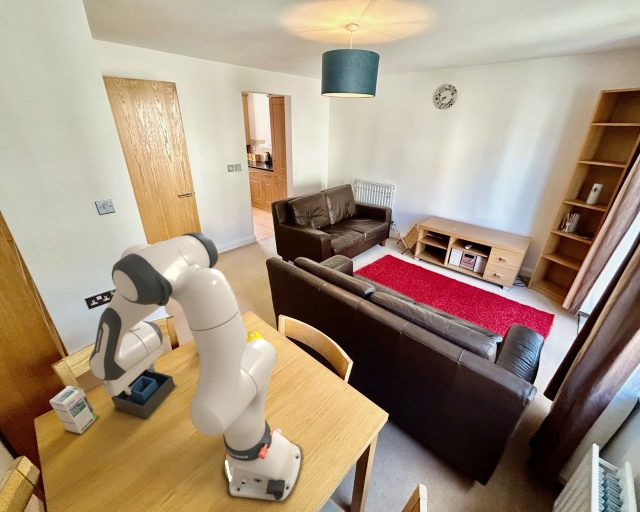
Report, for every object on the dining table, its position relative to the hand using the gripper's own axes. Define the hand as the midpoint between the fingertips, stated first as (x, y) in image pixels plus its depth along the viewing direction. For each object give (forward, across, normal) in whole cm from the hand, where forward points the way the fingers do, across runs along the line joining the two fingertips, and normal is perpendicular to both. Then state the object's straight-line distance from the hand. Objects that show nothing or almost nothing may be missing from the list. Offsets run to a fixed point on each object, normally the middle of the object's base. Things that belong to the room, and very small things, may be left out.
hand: (141, 381), depth 96 cm
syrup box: (+8, -14, +12) cm, 20 cm away
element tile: (+9, +30, -24) cm, 40 cm away
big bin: (+8, 0, 0) cm, 8 cm away
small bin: (+8, 0, +1) cm, 8 cm away
